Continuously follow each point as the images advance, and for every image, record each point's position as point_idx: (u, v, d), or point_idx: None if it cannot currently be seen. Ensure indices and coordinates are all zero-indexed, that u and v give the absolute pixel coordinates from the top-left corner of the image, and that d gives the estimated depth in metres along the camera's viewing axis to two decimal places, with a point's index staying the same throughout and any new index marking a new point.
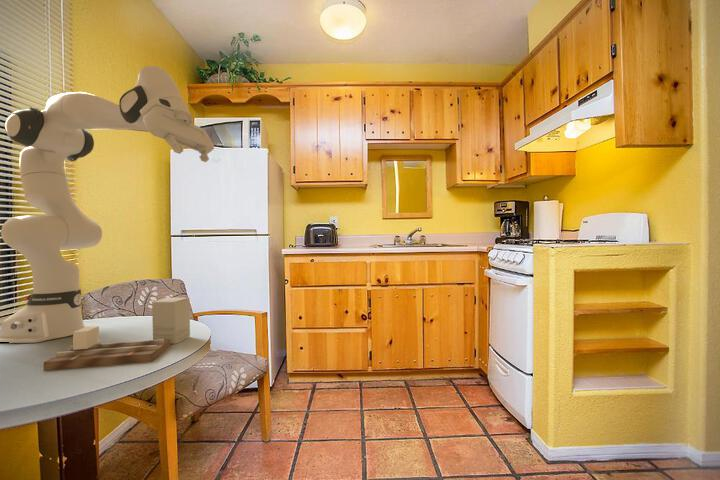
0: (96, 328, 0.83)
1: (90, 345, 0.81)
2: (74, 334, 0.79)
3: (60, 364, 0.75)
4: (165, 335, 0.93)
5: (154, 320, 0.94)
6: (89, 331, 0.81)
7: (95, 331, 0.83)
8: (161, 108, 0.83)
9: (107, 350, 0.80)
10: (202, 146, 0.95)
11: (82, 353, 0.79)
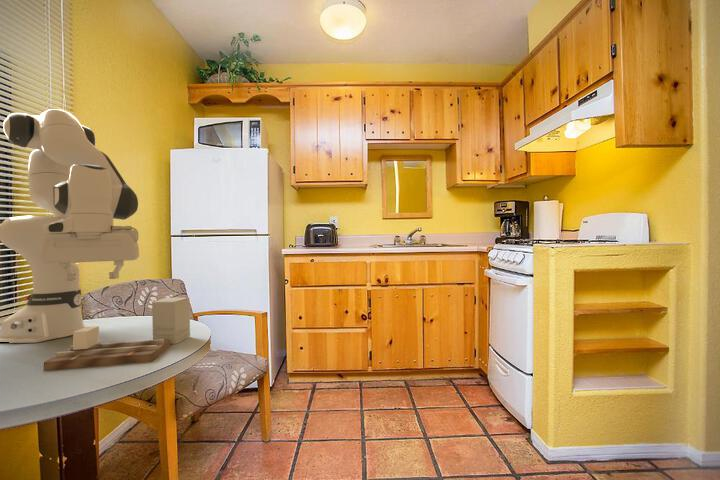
0: (96, 328, 0.83)
1: (90, 345, 0.81)
2: (74, 334, 0.79)
3: (60, 364, 0.75)
4: (165, 335, 0.93)
5: (154, 320, 0.94)
6: (89, 331, 0.81)
7: (95, 331, 0.83)
8: (50, 236, 0.77)
9: (107, 350, 0.80)
10: None
11: (82, 353, 0.79)
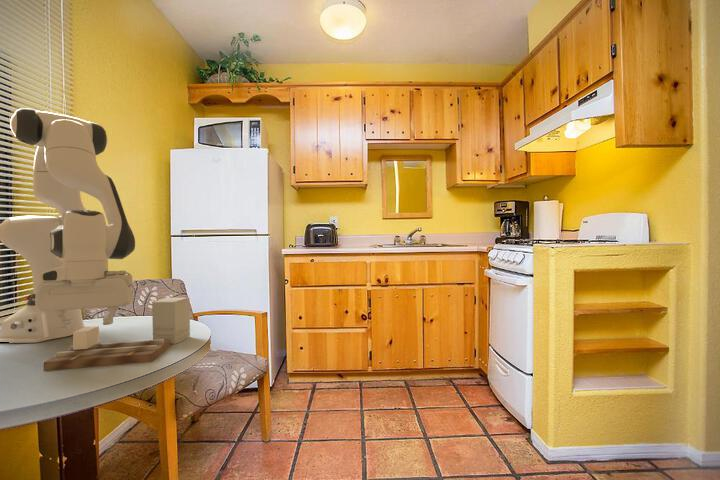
0: (96, 328, 0.83)
1: (90, 345, 0.81)
2: (74, 334, 0.79)
3: (60, 364, 0.75)
4: (165, 335, 0.93)
5: (154, 320, 0.94)
6: (89, 331, 0.81)
7: (95, 331, 0.83)
8: (45, 285, 0.77)
9: (107, 350, 0.80)
10: None
11: (82, 353, 0.79)
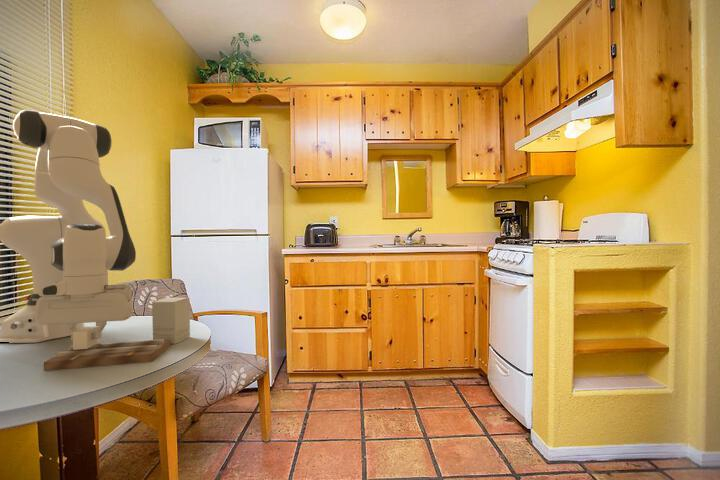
0: (96, 328, 0.83)
1: (90, 345, 0.81)
2: (74, 334, 0.79)
3: (60, 364, 0.75)
4: (165, 335, 0.93)
5: (154, 320, 0.94)
6: (89, 331, 0.81)
7: None
8: (45, 299, 0.78)
9: (107, 350, 0.80)
10: None
11: (82, 353, 0.79)
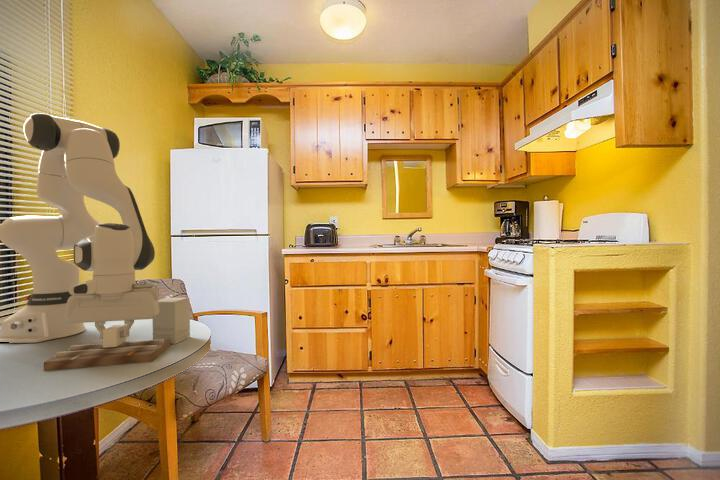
0: (124, 326, 0.85)
1: (119, 343, 0.82)
2: (104, 332, 0.80)
3: (60, 364, 0.75)
4: (165, 335, 0.93)
5: (154, 320, 0.94)
6: (118, 329, 0.82)
7: None
8: (75, 297, 0.79)
9: (107, 350, 0.80)
10: None
11: (82, 353, 0.79)
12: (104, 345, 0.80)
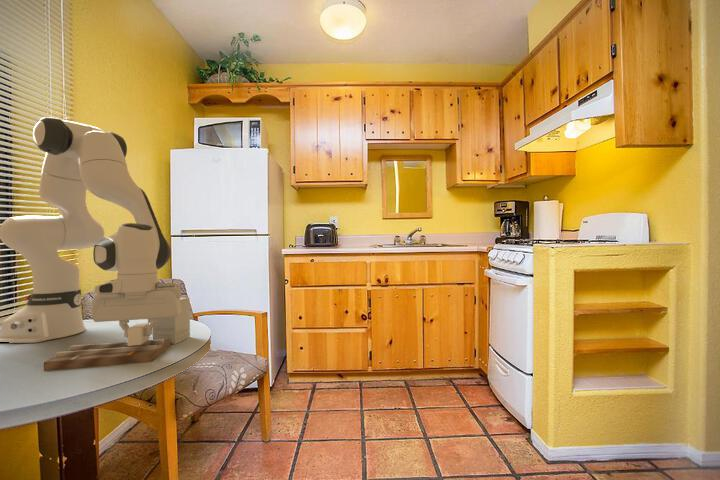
0: (147, 325, 0.86)
1: (143, 341, 0.83)
2: (128, 331, 0.82)
3: (60, 364, 0.75)
4: (165, 335, 0.93)
5: None
6: (142, 328, 0.83)
7: None
8: (101, 296, 0.80)
9: (107, 350, 0.80)
10: None
11: (82, 353, 0.79)
12: (129, 343, 0.82)
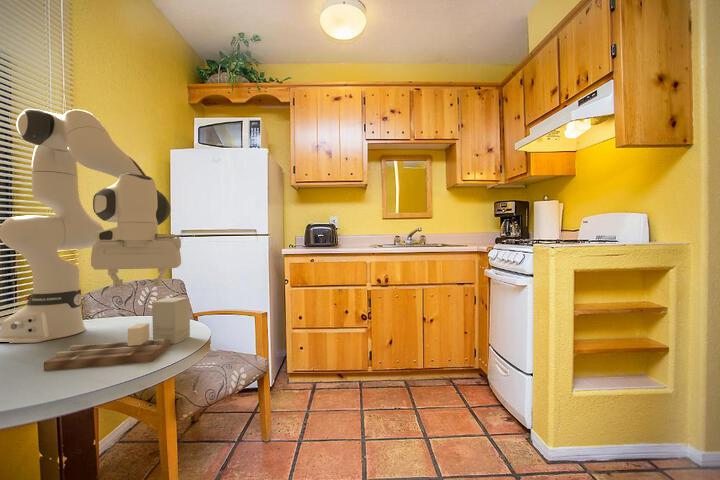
0: (147, 325, 0.86)
1: (143, 341, 0.83)
2: (128, 331, 0.82)
3: (60, 364, 0.75)
4: (165, 335, 0.93)
5: (154, 320, 0.94)
6: (142, 328, 0.83)
7: (146, 328, 0.86)
8: (100, 244, 0.80)
9: (107, 350, 0.80)
10: None
11: (82, 353, 0.79)
12: (129, 343, 0.82)
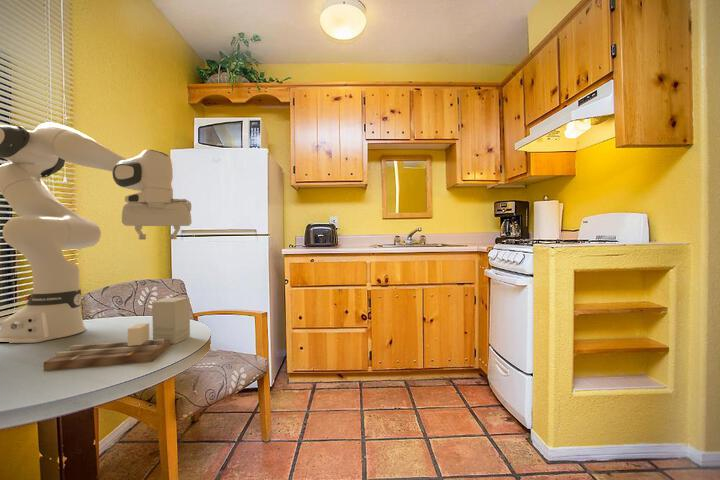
0: (147, 325, 0.86)
1: (143, 341, 0.83)
2: (128, 331, 0.82)
3: (60, 364, 0.75)
4: (165, 335, 0.93)
5: (154, 320, 0.94)
6: (142, 328, 0.83)
7: (146, 328, 0.86)
8: (129, 205, 1.03)
9: (107, 350, 0.80)
10: None
11: (82, 353, 0.79)
12: (129, 343, 0.82)
